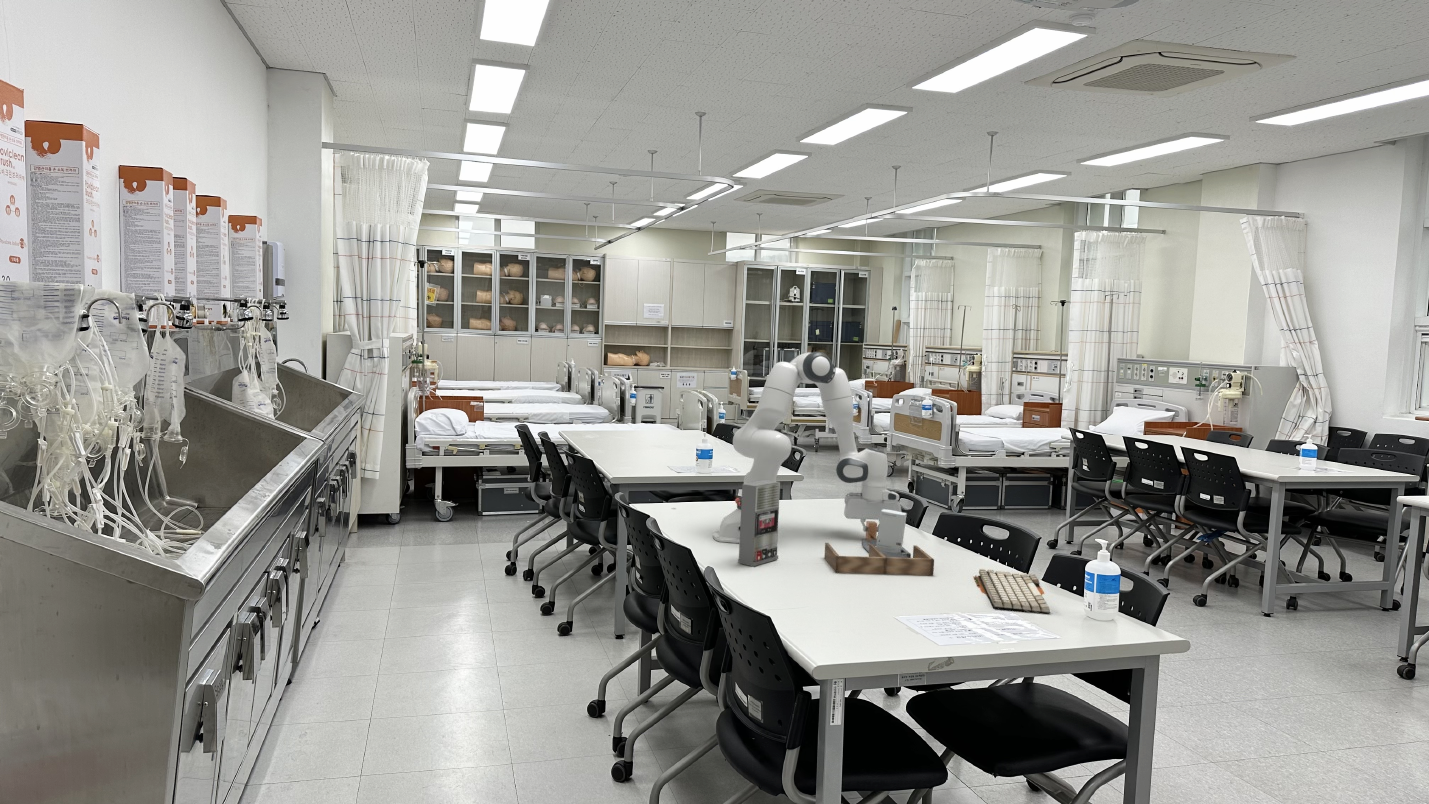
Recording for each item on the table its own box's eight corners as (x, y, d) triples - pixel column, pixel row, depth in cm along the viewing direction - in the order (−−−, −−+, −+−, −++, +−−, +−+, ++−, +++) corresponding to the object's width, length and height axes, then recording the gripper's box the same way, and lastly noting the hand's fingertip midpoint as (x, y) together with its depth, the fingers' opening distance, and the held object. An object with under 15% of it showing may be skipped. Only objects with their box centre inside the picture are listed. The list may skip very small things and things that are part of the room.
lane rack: (835, 572, 272) (836, 556, 272) (824, 557, 291) (825, 542, 291) (933, 575, 274) (934, 559, 274) (915, 560, 293) (916, 545, 293)
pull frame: (875, 558, 291) (876, 540, 291) (853, 537, 324) (854, 520, 324) (910, 559, 292) (911, 541, 292) (885, 538, 325) (886, 521, 324)
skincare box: (874, 555, 296) (879, 510, 296) (877, 551, 302) (881, 508, 301) (900, 559, 294) (904, 514, 293) (902, 555, 300) (907, 511, 299)
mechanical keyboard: (1062, 618, 237) (1063, 606, 237) (988, 612, 240) (989, 600, 240) (1035, 582, 275) (1036, 571, 274) (971, 577, 278) (971, 567, 277)
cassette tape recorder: (754, 567, 275) (758, 486, 273) (737, 563, 278) (741, 484, 277) (778, 560, 286) (782, 482, 284) (762, 556, 289) (766, 479, 288)
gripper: (846, 493, 317) (844, 532, 318) (903, 495, 318) (901, 534, 319) (843, 490, 324) (841, 528, 324) (899, 492, 325) (896, 530, 326)
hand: (871, 531), depth 322 cm, fingers closed on pull frame, 3 cm apart
